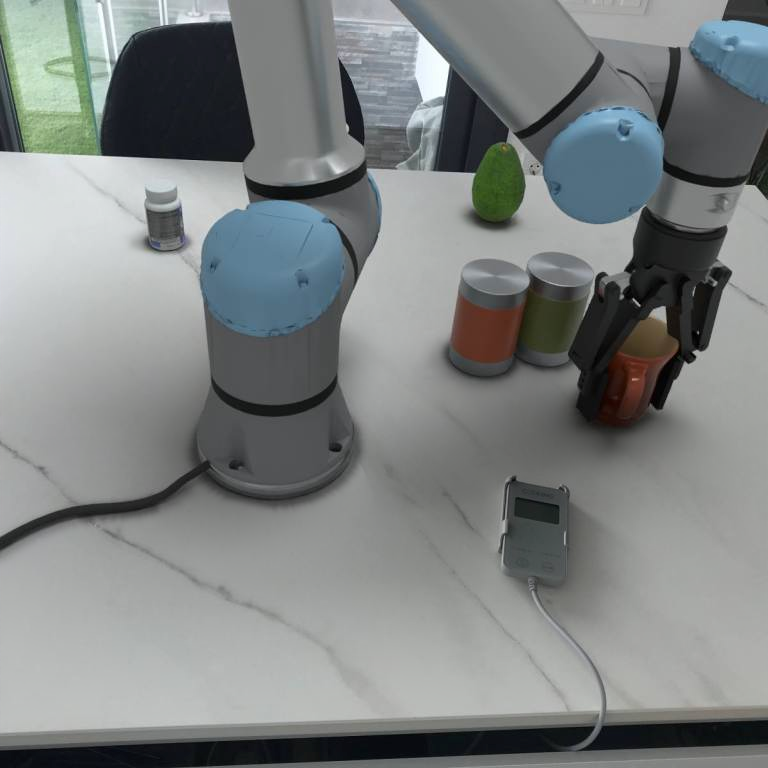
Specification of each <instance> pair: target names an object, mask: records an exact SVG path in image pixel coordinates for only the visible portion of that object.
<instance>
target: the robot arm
mask: <svg viewBox="0 0 768 768" xmlns="http://www.w3.org/2000/svg"><path fill="white" fill-rule="evenodd" d="M226 1H227V6H228V11H229V16H230V21H231V26H232V32H233V36H234V43H235V47H236V52H237V58H238V63H239V68H240V73H241V79H242V84H243V88H244V94H245V100H246V105H247V109H248V110H247V111H248V115H249V120H250V126H251V130H252V137H253V141H254V145H253V148H252V149H251V150H250V152H249V153H248V154H247V156H246V157H245V158H244V160H243V162H242V172H243V176H244V182H245V188H246V191H247V196H248V197H247V198H248V201H249V203H248V204H246V206H245V209H240V208H235V209H232V210H231V211H229V212H226V213H225V214H224V215H223V216H221V218H219V219H218V220H217V221H216V222H214V224H212V226H211V227H210V228H209V230H208V231H207V234H206V235H205V237H204V239H203V242H202V247H201V253H200V255H201V256H200V266H199V267H200V273H199V279H198V280H199V285H200V291H201V297H202V303H203V310H204V311H203V312H204V321H205V323H204V324H205V332H206V342H207V353H208V363H209V374H210V385H209V389H208V392H207V395H206V397H205V400H204V404H203V407H202V410H201V413H200V416H199V420H198V423H197V427H196V433H195V434H196V446H197V454H198V457H199V460H200V464H198V465H197V466H195V467H193V468H192V469H191V470H189V471H187V472H186V473H184V474H183V475H181V476H179V477H178V478H177V479H176V480H175V481H174V482H172V483H171V484H170V485H169V486H167V487H166V488H164V489H162V490H161V491H159V492H157V493H154V494H152V495H151V494H150V495H148V496H146V497H145V496H144V497H142V498H137V499H133V500H126V501H115V502H103V503H102V502H101V503H99V502H98V503H89V504H81V505H75V506H70V507H66V508H61V509H59V510H56V511H52V512H50V513H46V514H44V515H42V516H39V517H37V518H34V519H32V520H30V521H28V522H25V523H23V524H21V525H19V526H17V527H15V528H14V529H12V530H9V531H8V532H6V533H4V534H3V535H1V536H0V549H1V548H3V547H4V546H6V545H7V544H9V543H11V542H13V541H14V540H17V539H18V538H20V537H22V536H24V535H26V534H28V533H30V532H32V531H34V530H36V529H39V528H41V527H44V526H46V525H48V524H52V523H54V522H56V521H60V520H63V519H65V518H71V517H74V516H78V515H79V516H81V515H86V514H87V515H88V514H96V513H97V514H98V513H111V512H122V511H123V512H124V511H129V510H130V511H131V510H136V509H141V508H144V507H149V506H151V505H154V504H157V503H160V502H162V501H164V500H166V499H167V498H169V497H171V496H172V495H173V494H175V493H176V492H178V491H179V490H180V489H181V488H182V487H184V486H185V485H187V484H188V483H190V482H191V481H193V480H194V479H195V478H197V477H198V476H200V475H202V474H203V473H204V472H206V473H207V474H208V475H209V476H210V478H212V479H213V480H214V481H216V482H217V483H218V484H219V485H221V486H222V487H224V488H226V489H228V490H230V491H233V492H235V493H237V494H240V495H242V496H243V495H244V496H248V497H251V498H258V499H268V500H269V499H271V500H273V499H274V500H275V499H276V500H277V499H288V498H295V497H299V496H303V495H306V494H309V493H313V492H315V491H317V490H319V489H321V488H323V487H324V486H326V485H328V484H330V483H331V482H332V481H333V480H335V479H336V478H337V477H338V476H339V475H341V473H342V472H343V471H344V470H345V468H346V467H347V465H348V463H349V462H350V459H351V457H352V454H353V449H354V437H355V428H354V422H353V419H352V415H351V412H350V410H349V408H348V404H347V403H346V402H347V401H346V399H345V397H344V394H343V391H342V389H341V385H340V383H339V380H338V379H339V361H340V360H339V359H340V338H341V337H340V336H341V335H340V334H341V326H342V322H343V321H342V320H343V316H344V313H345V311H346V309H347V306H348V304H349V302H350V299H351V297H352V295H353V293H354V290H355V288H356V286H357V283H358V281H359V279H360V276H361V274H362V271H363V269H364V266H365V264H366V262H367V260H368V258H369V257H370V255H371V253H372V252H373V250H374V249H375V247H376V244H377V242H378V240H379V239H378V238H379V233H380V232H381V227H382V215H383V214H382V213H383V205H382V197H381V193H380V190H379V188H378V187H379V186H378V185H377V183H376V181H375V179H374V177H373V176H372V174H371V173H370V172H369V171H368V165H367V157H366V150H365V147H364V145H363V144H361V142H359V141H358V140H357V139H355V138H354V137H353V136H351V135H350V134H349V132H348V133H347V129H346V124H347V122H346V121H347V120H346V114H345V113H346V112H345V104H344V97H343V88H342V87H343V86H342V79H341V70H340V61H339V54H338V53H339V52H338V43H337V35H336V28H335V18H334V10H333V9H334V8H333V1H332V0H226ZM389 1H390V2H391V3H392V5H394V7H395V8H396V9H397V10H398V11H399V12H400V13H401V14H402V15H403V16H404V17H405V19H407V21H409V23H410V24H411V25H412V26H413V27H414V28H415V29H416V30H417V31H418V33H419V34H420V35H421V36H422V37H423V38H424V39H425V40H426V41H427V43H429V44H430V45H431V47H433V49H434V50H435V51H436V52H437V53H438V54H439V55H440V56H441V58H443V59H444V60H445V61H446V63H448V65H449V66H450V67H451V68H452V69H453V70H454V71H455V72H456V74H458V75H459V77H460V78H461V79H462V80H463V81H464V82H465V83H466V84H467V85H468V86H469V88H471V90H472V91H473V92H474V93H475V94H476V95H477V96H478V97H479V98H480V99H481V100H482V101H483V103H484V104H485V105H486V106H487V107H488V108H489V109H490V110H491V111H492V112H493V113H494V115H495V116H497V118H498V119H499V120H500V121H501V122H502V123H503V124H504V125H505V127H507V129H509V131H510V132H511V133H512V134H513V135H514V136H515V137H516V138H517V139H518V140H519V142H520V143H521V144H522V146H524V148H525V149H526V150H527V151H528V152H529V153H530V154H531V155H532V156H533V157H534V159H535V160H536V161H537V162H538V164H540V165H541V166H542V178H543V180H544V182H545V184H546V188H547V190H548V194H549V197H550V198H551V200H552V202H553V203H554V205H555V206H556V207H557V208H558V209H559V210H560V211H561V212H562V213H563V214H565V215H566V216H568V217H569V218H571V219H573V220H576V221H579V222H581V223H585V224H589V225H590V224H591V225H607V224H608V225H609V224H613V223H616V222H620V221H623V220H625V219H628V218H629V217H631V216H632V215H634V214H636V213H638V212H639V211H640V210H641V211H640V215H639V217H638V221H637V224H636V227H635V231H634V234H633V236H632V237H633V238H632V257H631V258H630V260H629V262H628V263H627V265H626V266H625V268H624V269H623V271H622V272H619V273H616V274H613V275H609V274H608V273H607V272H606V271H601V272H598V273H597V274H596V276H595V277H594V288H593V294H592V297H591V299H590V301H589V304H588V306H587V307H586V308H587V309H585V312H584V315H583V319H582V322H581V324H580V326H579V329H578V331H577V333H576V336H575V338H574V340H573V342H572V345H571V347H570V349H569V352H568V357H569V358H570V359H569V360H571V362H572V363H573V364H574V365H575V367H576V368H577V369H578V370H579V372H580V373H579V376H578V380H577V383H576V386H577V389H578V391H579V393H578V397H577V400H576V402H575V408H576V410H577V411H578V413H579V414H580V415H581V416H582V418H583V419H584V420H585V422H586V424H594V423H595V422H596V420H595V419H596V416H597V413H598V410H599V406H600V403H601V400H602V397H603V394H604V391H605V388H606V385H607V382H608V379H609V376H610V373H609V372H608V371H607V370H606V369H605V368H606V367H607V366H608V364H609V363H610V361H611V360H612V359H613V357H614V356H615V354H616V353H617V352H618V350H619V349H620V348H621V346H622V345H623V343H624V342H625V341H626V339H627V338H628V337H629V335H630V334H631V332H632V331H633V330H634V328H635V327H636V326H637V324H638V323H639V321H641V320H646V319H647V317H648V316H649V315H651V313H652V312H653V311H654V310H656V309H659V308H661V307H664V309H665V323H666V324H667V333H668V334H669V335H670V336H671V337H673V338H675V339H677V340H678V341H679V349H678V350H677V352H676V353H675V355H674V356H673V357H672V358H671V359H670V360H669V361H668V362H667V364H666V365H665V366H664V368H663V369H662V371H661V373H660V376H659V378H658V382H657V385H656V388H655V391H654V394H653V396H652V399H651V403H650V405H651V407H653V408H654V409H655V410H656V411H661V410H664V407H665V404H666V401H667V399H668V396H669V394H670V391H671V390H672V386H673V384H674V381H676V380H678V378H679V377H680V374H681V372H682V369H683V367H684V364H688V365H690V364H692V363H694V362H695V361H696V359H697V355H696V354H695V353H694V352H695V351H698V352H700V353H702V352H705V351H706V350H707V349H708V348H709V345H710V342H711V338H712V334H713V330H714V326H715V322H716V319H717V315H718V311H719V308H720V307H719V306H720V303H721V299H722V296H723V292H724V290H725V288H726V286H727V284H728V283H729V281H730V279H731V278H732V275H733V270H732V269H730V268H729V267H728V266H727V265H725V264H724V263H723V262H722V261H720V260H719V259H718V257H719V254H720V252H721V249H722V248H723V244H724V241H725V239H726V237H727V234H728V231H729V230H728V229H729V228H728V224H730V223H731V221H732V219H733V217H734V214H735V211H736V209H737V207H738V204H739V202H740V199H741V197H742V193H743V191H744V189H745V186H746V184H747V181H748V178H749V176H750V172H751V169H752V167H753V164H754V162H755V160H756V157H757V155H758V153H759V150H760V148H761V145H762V143H763V141H764V138H765V135H766V133H767V131H768V26H766V25H762V24H759V23H754V22H749V21H743V20H733V19H730V20H721V19H719V20H718V19H713V20H709V21H706V22H704V23H702V24H701V25H700V26H698V28H697V29H696V31H695V34H694V36H693V39H692V40H690V41H689V45H688V47H687V46H677V47H673V46H666V45H665V46H663V45H657V44H648V43H642V42H633V41H628V40H620V39H613V38H612V39H611V38H605V37H599V36H598V37H597V36H590V35H588V34H587V33H586V31H585V30H584V29H583V28H582V27H581V25H580V24H579V22H578V21H577V20H576V19H575V18H574V17H573V16H572V14H571V13H570V12H569V10H567V8H566V7H565V6H564V5H563V4H562V3H561V1H560V0H389ZM596 356H597V357H596Z"/></svg>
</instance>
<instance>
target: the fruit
mask: <svg viewBox="0 0 768 768" xmlns="http://www.w3.org/2000/svg"><path fill="white" fill-rule="evenodd" d="M524 172H525V171H524V169H523V166H522V163H521V158H520V156H519V154H518V152H517V150H516V148H515V147H514V145H513V144H511V143H508V142H504V141H500V142H497V143H495V144H492V145H491V146H490V147H489V148H488V149H487V151H486V152H485V154H484V156H483V158H482V159H481V162H480V163H479V166H478V167H477V169H476V172H475V174H474V176H473V179H472V185H471V201H472V204H473V208H474V210H475V212H476V213H477V214H478V215H479V217H480V218H481V219H483V220H485V221H487V222H493V223H496V222H502V221H504V220H507V219H509V218H511V217H512V216H513V215H514V214H515V213H516V212H517V211H519V209H520V207H521V205H522V203H523V201H524V197H525V192H526V188H527V187H526V186H527V185H526V176H525V173H524Z"/></svg>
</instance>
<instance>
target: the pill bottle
mask: <svg viewBox="0 0 768 768" xmlns="http://www.w3.org/2000/svg"><path fill="white" fill-rule="evenodd" d="M144 190H145V197H146V198H145V200H144V202H143V203H144V204H143V205H144V211H145V212H144V213H145V219H146V225H147V233H148V240H149V244H150V246H151V247H152V248H154V249H156V250H159V251H175V250H178V249H180V248H182V247H183V246H184V244H185V242H186V233H185V225H184V215H183V206H182V199H181V198H180V197H179V195H178V185H177V183H176V181H173V180H171V179H166V178H158V179H153V180H149V181H148V182H147V183H145V186H144Z"/></svg>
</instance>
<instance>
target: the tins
mask: <svg viewBox="0 0 768 768" xmlns="http://www.w3.org/2000/svg"><path fill="white" fill-rule="evenodd" d="M594 280H595V271H594V269H593V267H592V266H591V265H590V264H589V263H588V262H587V261H586V260H584V259H582V258H580V257H578V256H575V255H573V254H569V253H565V252H560V251H545V252H539V253H537V254H534V255H532V256H531V257H530V258H529V259H528V260H527V263H526V269H525V270H524V269H523V268H522V267H520V266H519V265H516V264H515V263H512V262H510V261H506V260H502V259H496V258H479V259H474V260H471V261H469V262H467V263H466V264H465V265H464V266H463V267H462V269H461V273H460V279H459V285H458V287H457V288H458V289H457V296H456V300H455V301H456V302H455V308H454V315H453V321H452V327H451V334H450V343H449V350H448V356H449V360H450V361H451V363H452V364H453V365H454V366H455V367H456V368H457V369H459V370H460V371H462V372H464V373H466V374H469V375H473V376H477V377H496V376H499V375H502V374H503V373H505V372H507V371H508V370H509V369H510V368H511V366H512V364H513V358H514V354H515V355H516V356H517V357H518V358H519V359H521V360H523V361H524V362H527V363H529V364H532V365H535V366H538V367H546V368H547V367H548V368H549V367H557V366H561V365H564V364H566V363H567V362H568V361H569V360H571V359H570V358H569V357H568V352H569V349H570V347H571V345H572V342H573V340H574V338H575V336H576V333H577V331H578V329H579V326H580V324H581V322H582V320H583V317H584V315H585V313H586V308H587V304H588V301H589V297H590V294H591V289H592V285H593V282H594Z"/></svg>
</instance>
